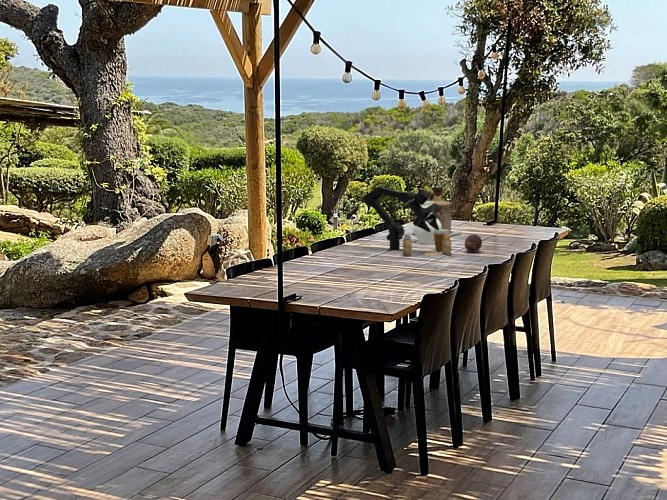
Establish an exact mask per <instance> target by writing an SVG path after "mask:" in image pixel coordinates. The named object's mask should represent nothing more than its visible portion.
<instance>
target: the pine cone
mask: <svg viewBox="0 0 667 500" xmlns="http://www.w3.org/2000/svg"><path fill="white" fill-rule="evenodd" d="M482 246H483V240H482V239H481V236H479V235H477V234H470V235H468V236H467V237H466V238H465V240H464V247H465V249H466V251H468V252H471V253H476V252H477V251H480V249H481V248H482Z"/></svg>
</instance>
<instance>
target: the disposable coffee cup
mask: <svg viewBox="0 0 667 500" xmlns="http://www.w3.org/2000/svg"><path fill="white" fill-rule="evenodd" d="M433 233H434V239H435V240H434V241H435V244H434V247H435V251H436V252H442V240H443V239H444V235H445V234H448V235H449V233H450V232H449V230H448V229H439V230H436V229H434V232H433Z"/></svg>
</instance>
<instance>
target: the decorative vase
mask: <svg viewBox="0 0 667 500" xmlns="http://www.w3.org/2000/svg"><path fill="white" fill-rule="evenodd" d="M433 203H434V202H432V201H428V200H427V201H426V202H425V203H424V204H420V205H421V206H422V208H427V207H429V206H431V205H432V204H433ZM430 214H433V213H432V212H431V213H430ZM428 216H429V215H428ZM436 221H437V224H438V227H439V229H442V226H441V223H440V221H439V220H438V218H437V220H436ZM426 224H427V225H428V227H429V228H430V230H431V232H428V231H426V230H424V229H422V228H419V227H417V226H414V224H413V223H412V226H411V227H412V233H414V234H413V235H415V236H416V238H417V239H418V240H417V241H416V243H417V244H418V245H419V244H421V245H435V239H434V233H433V232H434V229H435V228H433V227H432V226H430V225H429V223H427V221H426Z"/></svg>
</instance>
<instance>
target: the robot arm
mask: <svg viewBox="0 0 667 500" xmlns="http://www.w3.org/2000/svg"><path fill="white" fill-rule="evenodd" d="M383 195H384V196H387V197H391V198H395V199H397V200H399V201H400V202H402V203H406V205H405V210H410V211H411V212H412V213H413V217H416V218H415V219H413V221H412V225H413V224H414V226H417V227H419V228H422V229H424V230H426V231H428V232H431V230H430V228H429V227H428V225H427V224H426V221H427V223H429V225H430V226H432V227H433V228H435V229H436V230H439V227H438V224H437V221H436V220H437V217H438V215H437V214H436V213H433V214H430V213H431V212H433V211H435V208H436V207H435V206H434V205H431V206H429V207H427V208H422V206H421V205H423V204H424V203H425V202H426V201H428V200H429V198H430V195H429V194H428V191H426V190H424V189H419V190H418V192H417V193H416V194H415V193H414V192H413V191H400V190H396V189H392V188H388V187H385V186H378V187H376V188H375V189H373V190H372V191H370V192H369V193H366V194H365V195H364V197H363V201H364V202H365V203H366V205H368V207H371V208H373V210H374V211H375V212H376V214H378V216H379V217H380V218H381V220H382V221H383V222H384V224H385V225H386V226H387V229H388V234H387V235H386V240H387V241H389V248H387V249H386V250H388V251H389V252H392V251H403V248H402V249H401V248H400V240H403V238H404V235H405V233H406V232H405V229H404V228H405V227H404V226H403V225H402V224H401V222H396V221H395V220H394V219H393V217H392V216H390V214H389V213H388V212H387V210H386V209H385V207H384V206H383V205H382V204H381V200H380V199H381V197H382V196H383ZM428 215H429V216H428Z"/></svg>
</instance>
